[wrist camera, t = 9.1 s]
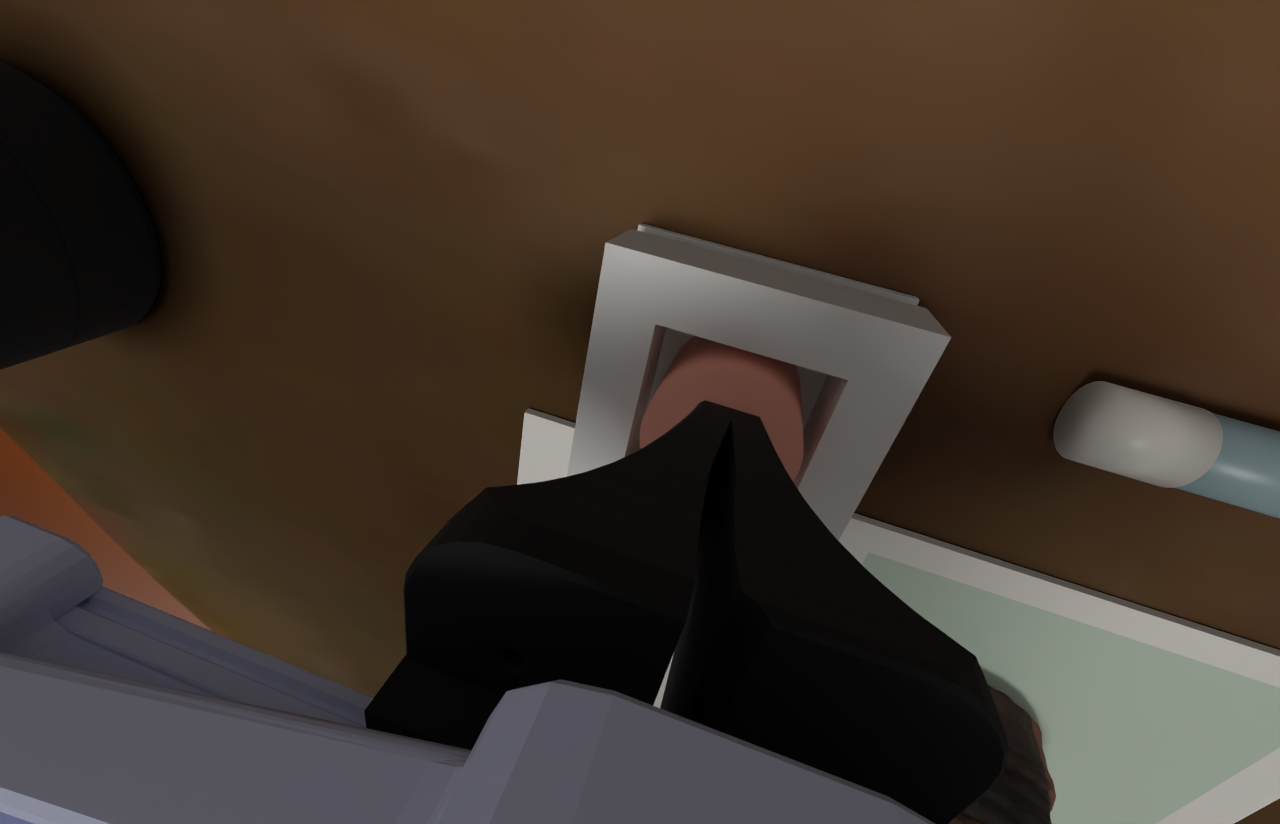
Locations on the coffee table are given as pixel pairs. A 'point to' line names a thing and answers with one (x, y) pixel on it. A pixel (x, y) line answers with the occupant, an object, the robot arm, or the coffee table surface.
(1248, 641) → the paper
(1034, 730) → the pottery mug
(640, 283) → the white square holder
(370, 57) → the coffee table surface
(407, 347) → the coffee table surface
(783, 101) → the coffee table surface
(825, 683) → the robot arm
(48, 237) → the pen holder
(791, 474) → the button
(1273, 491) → the marker
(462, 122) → the coffee table surface
